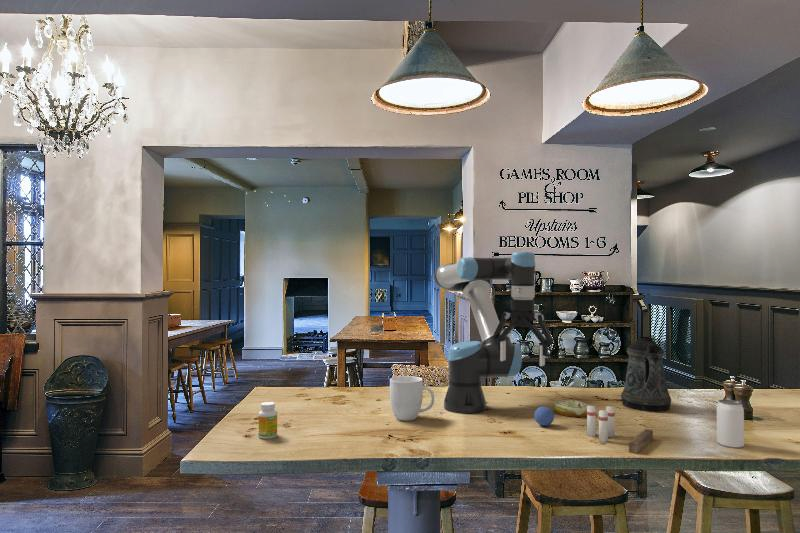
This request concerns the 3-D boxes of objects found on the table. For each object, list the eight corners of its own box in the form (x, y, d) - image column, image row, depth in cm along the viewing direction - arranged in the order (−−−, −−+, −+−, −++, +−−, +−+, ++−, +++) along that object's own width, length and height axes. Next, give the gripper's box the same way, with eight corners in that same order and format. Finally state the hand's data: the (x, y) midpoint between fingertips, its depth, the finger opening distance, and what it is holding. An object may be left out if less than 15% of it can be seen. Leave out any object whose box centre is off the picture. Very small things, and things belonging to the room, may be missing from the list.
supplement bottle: (267, 440, 150) (267, 406, 150) (254, 437, 153) (254, 404, 153) (281, 435, 155) (281, 402, 155) (268, 432, 157) (268, 400, 158)
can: (711, 441, 149) (711, 399, 150) (732, 440, 150) (732, 398, 150) (727, 448, 143) (727, 405, 143) (749, 448, 144) (749, 404, 144)
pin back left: (604, 436, 154) (604, 407, 154) (607, 434, 156) (607, 405, 156) (613, 437, 152) (613, 408, 153) (616, 435, 154) (615, 407, 154)
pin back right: (597, 441, 149) (597, 411, 150) (600, 438, 151) (600, 409, 151) (606, 442, 148) (606, 412, 148) (609, 440, 150) (609, 411, 150)
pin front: (585, 435, 155) (585, 406, 155) (588, 433, 157) (588, 405, 157) (594, 437, 153) (594, 408, 153) (597, 435, 155) (597, 406, 155)
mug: (432, 413, 179) (432, 375, 179) (436, 422, 168) (435, 382, 168) (389, 413, 178) (389, 375, 178) (389, 423, 167) (390, 382, 167)
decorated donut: (584, 420, 171) (584, 408, 171) (549, 415, 178) (549, 403, 178) (593, 412, 180) (593, 401, 180) (560, 407, 187) (560, 396, 187)
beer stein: (646, 399, 199) (646, 334, 199) (689, 412, 181) (688, 340, 181) (611, 402, 194) (610, 335, 194) (651, 416, 176) (651, 342, 176)
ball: (531, 425, 164) (531, 406, 164) (539, 421, 169) (539, 403, 169) (549, 429, 160) (549, 410, 160) (557, 425, 165) (557, 406, 165)
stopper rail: (628, 452, 140) (628, 442, 140) (645, 437, 153) (645, 429, 153) (636, 453, 139) (636, 444, 139) (653, 439, 151) (652, 430, 151)
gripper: (483, 297, 175) (482, 360, 175) (556, 301, 161) (555, 369, 161) (492, 296, 181) (492, 356, 181) (564, 299, 167) (563, 365, 167)
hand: (522, 363), depth 171 cm, fingers open, 13 cm apart
